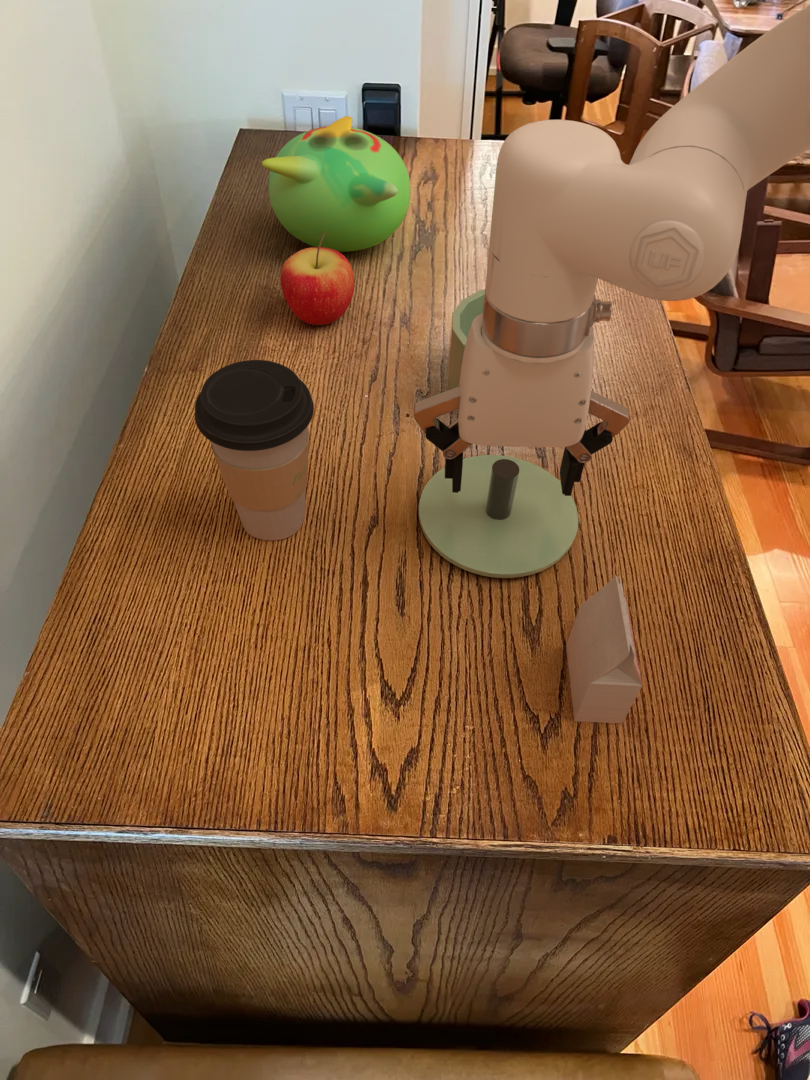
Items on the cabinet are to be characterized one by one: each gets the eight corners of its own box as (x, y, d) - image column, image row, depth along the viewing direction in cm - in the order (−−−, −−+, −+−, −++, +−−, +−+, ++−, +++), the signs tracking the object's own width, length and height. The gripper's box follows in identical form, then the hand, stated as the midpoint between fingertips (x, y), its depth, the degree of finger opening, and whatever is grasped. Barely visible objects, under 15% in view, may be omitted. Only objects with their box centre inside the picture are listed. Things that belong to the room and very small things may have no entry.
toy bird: (414, 216, 108) (418, 104, 96) (401, 283, 97) (404, 165, 86) (287, 207, 109) (277, 94, 97) (261, 272, 98) (245, 154, 86)
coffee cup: (336, 540, 70) (327, 414, 58) (234, 569, 68) (204, 444, 56) (306, 470, 75) (292, 343, 64) (211, 495, 73) (179, 367, 62)
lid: (567, 466, 77) (581, 415, 72) (584, 586, 67) (601, 537, 62) (420, 460, 77) (422, 408, 72) (416, 578, 67) (418, 529, 62)
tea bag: (574, 721, 59) (603, 653, 51) (565, 646, 63) (591, 573, 56) (622, 723, 59) (658, 656, 51) (610, 648, 63) (642, 575, 56)
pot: (562, 340, 90) (576, 274, 84) (579, 452, 78) (598, 386, 72) (446, 335, 90) (452, 269, 84) (446, 446, 78) (452, 380, 72)
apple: (368, 311, 93) (367, 233, 85) (326, 346, 88) (320, 267, 81) (314, 289, 96) (308, 212, 88) (270, 322, 91) (260, 243, 83)
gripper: (648, 289, 57) (603, 456, 70) (416, 284, 58) (414, 451, 71) (666, 350, 52) (614, 517, 65) (413, 344, 53) (411, 511, 66)
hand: (510, 482), depth 68 cm, fingers open, 9 cm apart
